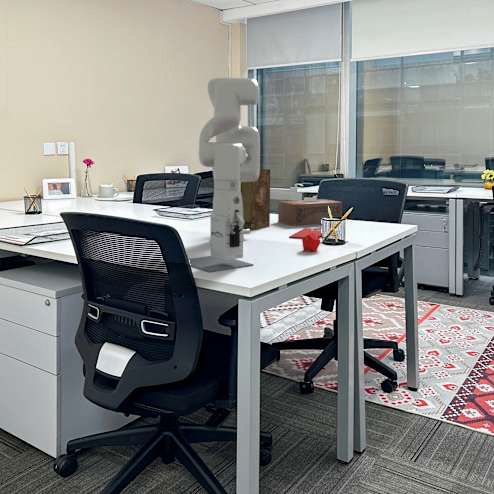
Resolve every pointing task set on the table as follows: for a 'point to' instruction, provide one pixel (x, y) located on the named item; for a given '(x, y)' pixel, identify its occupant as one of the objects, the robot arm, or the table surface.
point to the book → (256, 201)
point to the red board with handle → (307, 233)
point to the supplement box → (224, 239)
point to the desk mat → (217, 264)
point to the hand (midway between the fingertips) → (226, 244)
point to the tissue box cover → (307, 211)
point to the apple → (310, 242)
